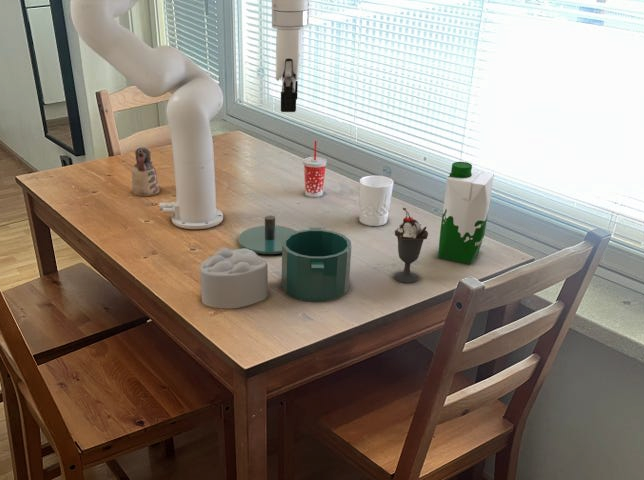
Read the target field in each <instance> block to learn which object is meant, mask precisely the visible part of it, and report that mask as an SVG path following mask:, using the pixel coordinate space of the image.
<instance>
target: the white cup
mask: <svg viewBox="0 0 644 480" xmlns="http://www.w3.org/2000/svg"><path fill="white" fill-rule="evenodd" d="M393 189H394V180H393V179H392V178H390V177H387V176H385V175H384V176H383V175H367V176H363V177H361V178H360V179H359V193H358V195H359V197H358V198H359V199H358V210H359V219H358V220H359V222H360V223H361V224H363V225H365V226H369V227H380V226H383V225H385V224H387V222H388V217H389V212H390V209H391V201H392V196H393Z"/></svg>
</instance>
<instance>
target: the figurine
mask: <svg viewBox="0 0 644 480" xmlns="http://www.w3.org/2000/svg"><path fill="white" fill-rule="evenodd" d="M134 154H135V160H136V163H135V164H133V166H132V170H131V189H132V193H133V194H134V195H135V196H138V197H151V196H155V195H157V194H159V193H160V184H159V180H158V174H157V170H156V167H155V166H154V165H153V161H151V151H150V150H149V149H148V148H147V147H144V146H143V147H142V146H140V147H138V148H137V149H136V150H135V151H134Z"/></svg>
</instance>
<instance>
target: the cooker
mask: <svg viewBox="0 0 644 480" xmlns="http://www.w3.org/2000/svg"><path fill="white" fill-rule="evenodd" d="M296 231H297V232H294V233H292V234H289V235H287V236H286V237H285V238H284V239H283V240H282V253H281V289H282V290H283V292H284V293H285V294H286V295H288V296H289V297H291V298H293V299H296V300H299V301H302V302H303V301H305V302H309V303H310V302H312V303H321V302H324V303H325V302H329V301H333V300H336V299H339V298H341V297H343V296H344V295H345V294H346V293H347V292H348V290H349V287H350V277H351V276H350V275H351V274H350V273H351V261H352V260H351V259H352V241H351V239H349V238H348V237H347V236H346V235H344V234H342V233H339V232H337V231H334V230H329V229H322V227H319V226H316V227H315V226H314V227H313V226H312V227H311V226H310V227H309V228H308V229H303V230H296Z"/></svg>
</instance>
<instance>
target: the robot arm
mask: <svg viewBox="0 0 644 480" xmlns="http://www.w3.org/2000/svg"><path fill="white" fill-rule="evenodd" d="M139 1H140V0H70V3H69V4H70V6H69V7H70V8H69V9H70V10H69V11H70V17H71V20H72V24H73V27H74V29H75V31H76V32H77V34H78V36H79V37H80V39H81V40H82V41H83V43H85V44H86V45H87V46H88V48H90V49H91V50H92V51H93V52H94V53H96V54H97V55H98V56H99V57H101V58H102V59H103V60H104V61H106V62H107V63H108V64H109V65H110V66H111V67H113V68H114V69H115V70H116V71H117V72H118V73H120V75H122V76H123V77H124V78H125V79H126V80H127V81H128V82H129V83H131V84H132V85H133V86H134V87H135V88H137V90H139V91H140V92H141V93H143V94H144V95H145V96H148V97H150V98H159V97H162V96H164V95H166V94H168V93H169V94H170V97H169V99H168V101H167V104H166V109H165V110H166V111H165V112H166V120H167V124H168V129H169V134H170V139H171V148H172V149H171V150H172V159H173V170H174V171H173V172H174V173H173V174H174V184H175V196H176V197H175V199H176V200H175V201H172V202H159V207H158V208H159V211H162V213H163V214H171V223H173V225H175V226H176V227H178V228H180V229H185V230H205V229H210V228H213V227H216V226H218V225H219V224H221V223H222V222H223V220H224V214H223V212H222V211H221V210H220V209H218V208H217V193H216V174H215V173H216V172H215V153H214V141H213V140H214V139H213V136H212V132H211V125H210V121H211V120H212V119H213V118H214V117H216V116H217V115H218V114H219V113H220V111H221V110H222V108H223V105H224V94H223V90H222V87H220V85H219V83H218V82H217V81H216V80H215V79H213V77H211V76H210V74H209V73H207V72H206V71H205V70H203V68H201V66H199V65H198V64H197V63H196V62H195V61H193V60H192V59H191V58H190V57H189V56H188V55H187V54H185V53H184V52H183V51H181V50H180V49H178V48H176V47H174V46H171V45H158V46H156V47H154V48H153V47H151V46H149V44H147V43H146V42H145V41H144V40H142V39H141V38H140V37H139V36H138V35H137V34H135V32H133V31H131V30H130V29H129V28H127V27H125V26H124V25H121V24H120V23H118V22H117V21H116V19H115V18H118V17H121V16H123V15H125V14H127V13H129V11H130V10H132V9H133V8H134V7H135V6H136V5H137V4H138V3H139ZM309 22H310V0H271V28H272V29H274V30H276V38H275V80H276V81H278V82H279V81H280V80H281V91H280V112H281V113H296V112H297V100H298V91H299V90H298V89H299V86H298V83H299V81H298V80H299V79H300V73H301V68H302V54H303V31H304V30H305V29H307V28H309V26H310V25H309V24H310V23H309Z"/></svg>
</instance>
